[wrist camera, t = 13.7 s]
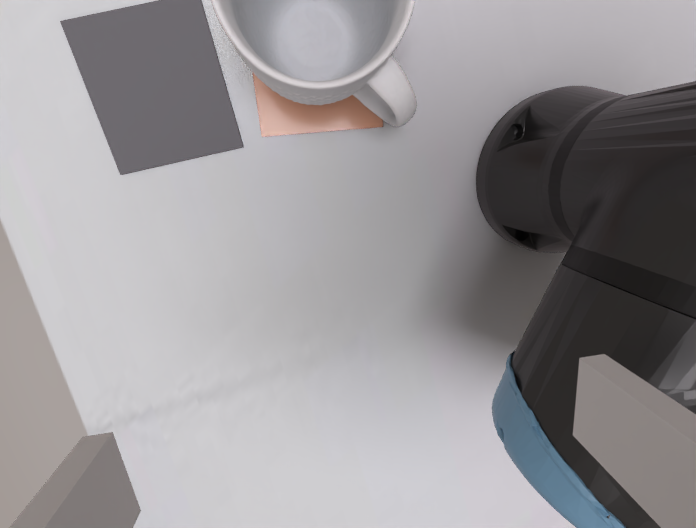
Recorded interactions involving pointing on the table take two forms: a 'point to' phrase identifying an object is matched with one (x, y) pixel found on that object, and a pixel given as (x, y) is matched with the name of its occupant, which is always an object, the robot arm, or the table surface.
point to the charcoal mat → (154, 83)
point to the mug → (325, 50)
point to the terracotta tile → (309, 114)
